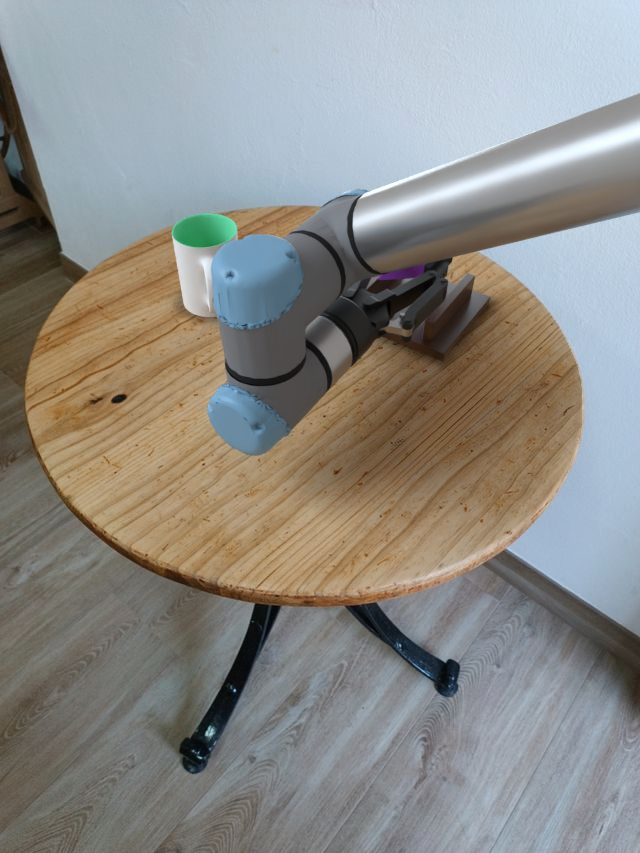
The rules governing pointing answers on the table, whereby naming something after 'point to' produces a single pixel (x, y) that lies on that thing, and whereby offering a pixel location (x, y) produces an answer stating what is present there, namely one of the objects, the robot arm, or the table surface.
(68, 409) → the table surface
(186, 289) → the mug
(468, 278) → the rack
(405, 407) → the table surface
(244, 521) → the table surface
